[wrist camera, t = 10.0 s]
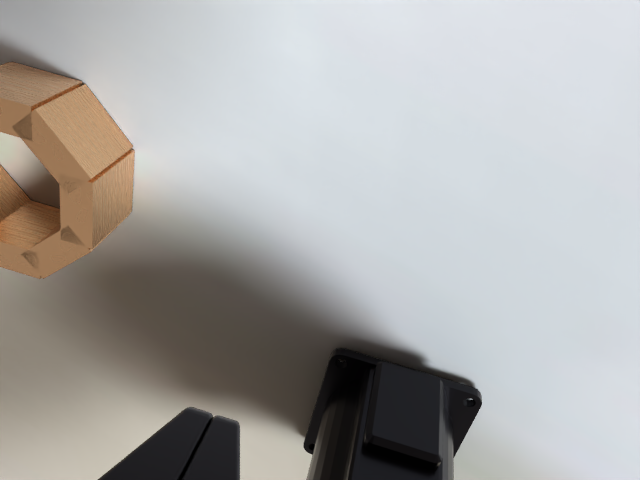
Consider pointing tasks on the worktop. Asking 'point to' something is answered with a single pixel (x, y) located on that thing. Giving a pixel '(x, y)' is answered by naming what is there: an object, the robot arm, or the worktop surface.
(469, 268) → the worktop surface
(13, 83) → the wooden octagonal ring
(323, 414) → the robot arm
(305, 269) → the worktop surface
